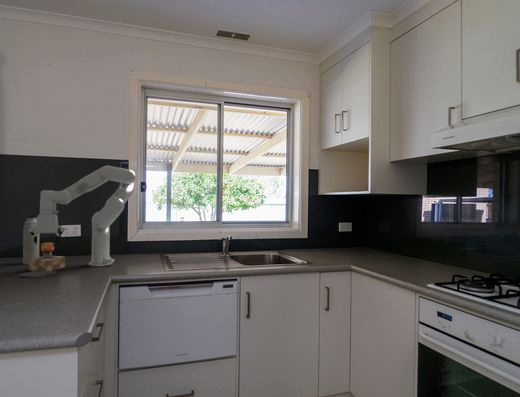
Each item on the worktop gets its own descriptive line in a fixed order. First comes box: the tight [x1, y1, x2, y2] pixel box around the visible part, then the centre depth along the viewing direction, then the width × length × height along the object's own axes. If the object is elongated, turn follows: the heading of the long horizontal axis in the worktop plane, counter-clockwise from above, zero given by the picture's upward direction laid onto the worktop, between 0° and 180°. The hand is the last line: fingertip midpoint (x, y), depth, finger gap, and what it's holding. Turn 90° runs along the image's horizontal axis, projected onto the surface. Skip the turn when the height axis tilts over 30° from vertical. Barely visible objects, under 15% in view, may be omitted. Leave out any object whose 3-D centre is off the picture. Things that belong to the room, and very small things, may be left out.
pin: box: [40, 242, 55, 259], centre depth 189 cm, size 6×6×14 cm
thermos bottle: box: [22, 215, 41, 265], centre depth 202 cm, size 8×8×28 cm
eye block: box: [28, 255, 66, 271], centre depth 189 cm, size 12×12×6 cm
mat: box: [16, 270, 57, 279], centre depth 174 cm, size 12×12×1 cm
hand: (46, 243), depth 188 cm, fingers open, 9 cm apart
